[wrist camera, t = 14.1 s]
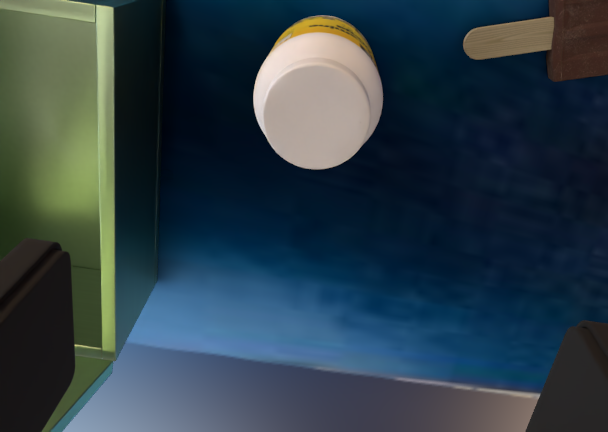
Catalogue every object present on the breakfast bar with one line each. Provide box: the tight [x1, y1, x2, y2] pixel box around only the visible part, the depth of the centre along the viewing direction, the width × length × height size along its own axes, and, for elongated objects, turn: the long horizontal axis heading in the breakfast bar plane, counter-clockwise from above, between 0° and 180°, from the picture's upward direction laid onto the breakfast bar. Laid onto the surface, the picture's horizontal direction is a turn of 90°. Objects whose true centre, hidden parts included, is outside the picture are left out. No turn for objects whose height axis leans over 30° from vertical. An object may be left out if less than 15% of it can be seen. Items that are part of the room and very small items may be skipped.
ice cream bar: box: [463, 0, 608, 82], centre depth 32 cm, size 5×2×15 cm
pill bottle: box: [253, 15, 383, 169], centre depth 30 cm, size 6×6×11 cm
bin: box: [0, 0, 166, 361], centre depth 33 cm, size 20×13×9 cm, turn 172°
